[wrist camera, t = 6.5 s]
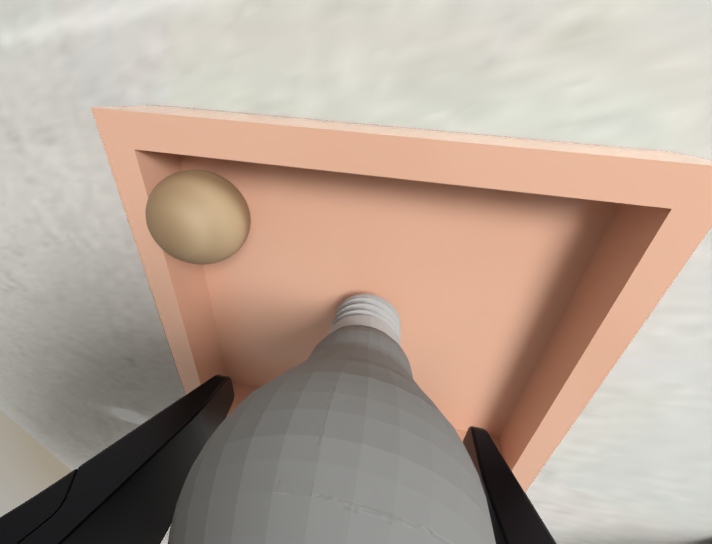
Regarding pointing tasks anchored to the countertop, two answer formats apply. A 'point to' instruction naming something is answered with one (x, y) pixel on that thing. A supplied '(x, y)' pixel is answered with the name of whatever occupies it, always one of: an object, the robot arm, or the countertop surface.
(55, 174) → the countertop surface
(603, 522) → the countertop surface
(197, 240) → the cork ball
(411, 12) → the countertop surface
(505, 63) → the countertop surface
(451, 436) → the light bulb
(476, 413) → the dish
